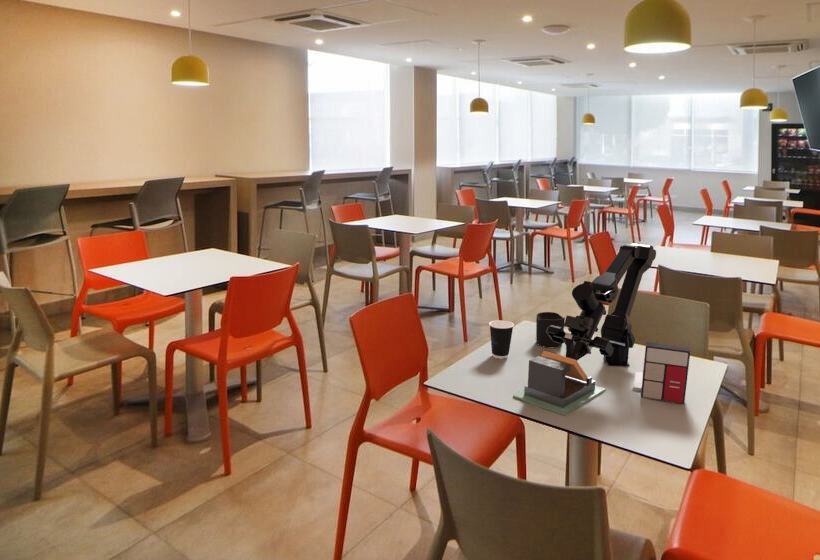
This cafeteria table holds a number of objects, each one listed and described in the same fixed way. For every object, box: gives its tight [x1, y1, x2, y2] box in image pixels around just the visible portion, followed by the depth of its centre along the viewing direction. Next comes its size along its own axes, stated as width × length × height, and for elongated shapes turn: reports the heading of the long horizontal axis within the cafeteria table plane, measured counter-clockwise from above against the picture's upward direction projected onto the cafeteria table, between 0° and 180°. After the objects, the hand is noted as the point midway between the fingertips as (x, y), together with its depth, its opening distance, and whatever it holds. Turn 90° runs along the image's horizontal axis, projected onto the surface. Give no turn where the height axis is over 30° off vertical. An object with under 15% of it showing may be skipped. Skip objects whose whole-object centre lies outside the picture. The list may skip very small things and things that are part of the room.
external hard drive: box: [632, 371, 643, 392], centre depth 178 cm, size 2×8×12 cm
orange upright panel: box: [541, 350, 588, 382], centre depth 171 cm, size 2×10×11 cm
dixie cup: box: [488, 319, 515, 360], centre depth 198 cm, size 8×8×11 cm
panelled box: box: [640, 342, 691, 405], centre depth 166 cm, size 11×4×15 cm, turn 67°
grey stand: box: [523, 355, 596, 408], centre depth 170 cm, size 17×12×10 cm
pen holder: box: [535, 311, 566, 348], centre depth 210 cm, size 9×9×10 cm
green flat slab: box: [512, 385, 606, 417], centre depth 171 cm, size 22×16×1 cm
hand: (566, 366), depth 171 cm, fingers closed, pressing on orange upright panel
